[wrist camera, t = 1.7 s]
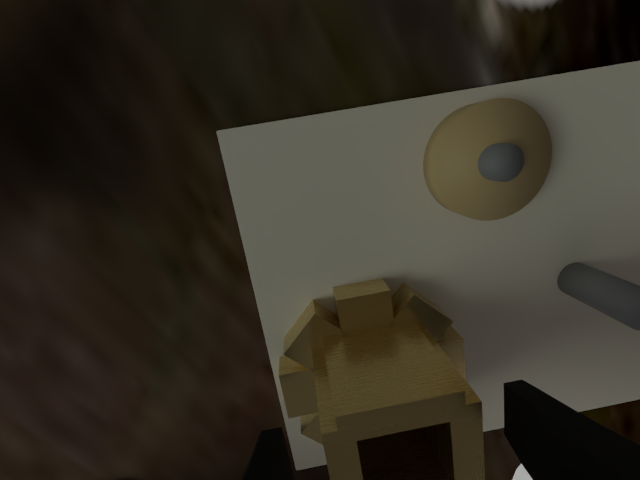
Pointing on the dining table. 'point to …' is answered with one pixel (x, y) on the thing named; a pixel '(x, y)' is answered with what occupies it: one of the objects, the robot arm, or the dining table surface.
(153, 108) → the dining table surface
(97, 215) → the dining table surface
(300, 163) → the plate
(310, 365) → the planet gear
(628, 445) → the robot arm
